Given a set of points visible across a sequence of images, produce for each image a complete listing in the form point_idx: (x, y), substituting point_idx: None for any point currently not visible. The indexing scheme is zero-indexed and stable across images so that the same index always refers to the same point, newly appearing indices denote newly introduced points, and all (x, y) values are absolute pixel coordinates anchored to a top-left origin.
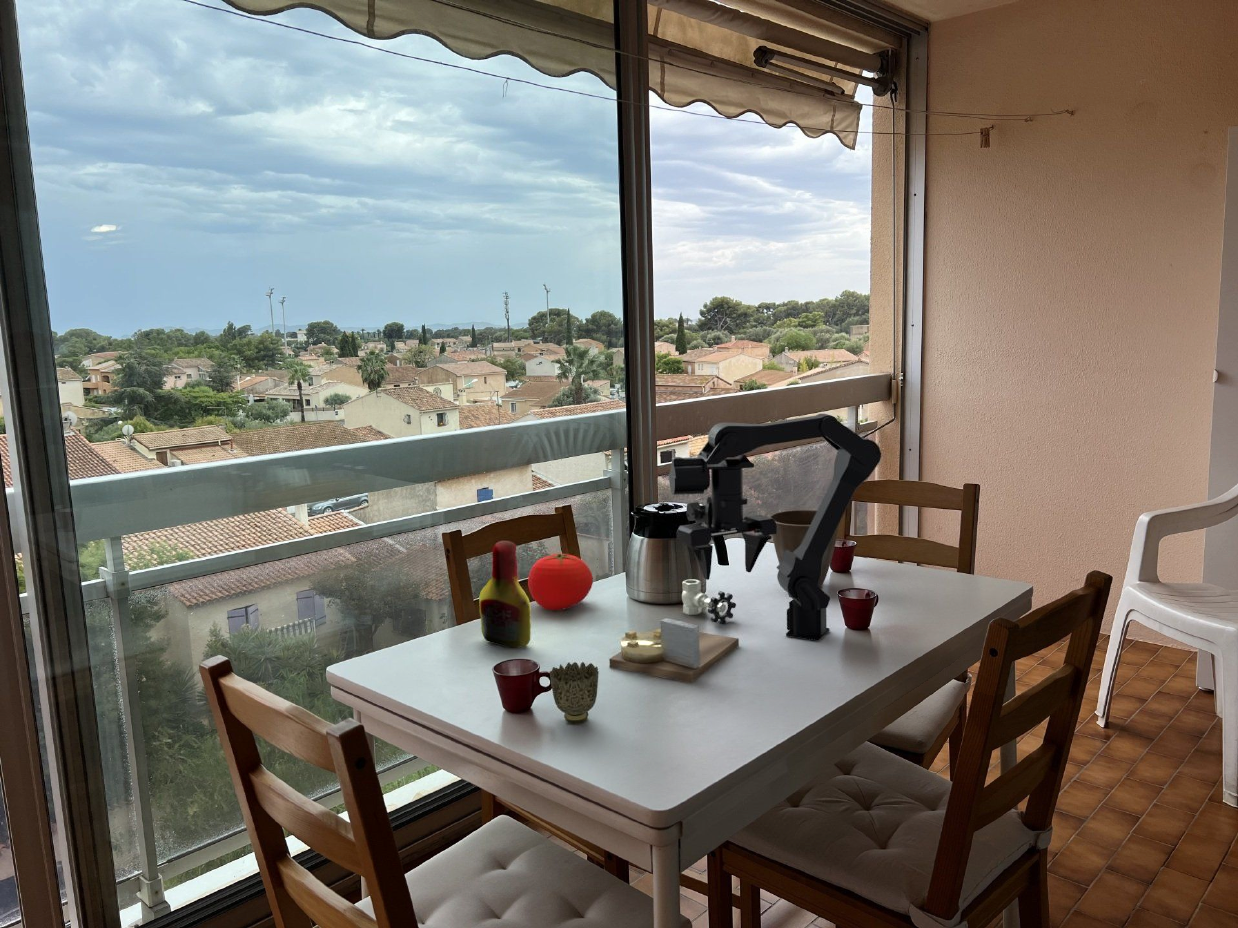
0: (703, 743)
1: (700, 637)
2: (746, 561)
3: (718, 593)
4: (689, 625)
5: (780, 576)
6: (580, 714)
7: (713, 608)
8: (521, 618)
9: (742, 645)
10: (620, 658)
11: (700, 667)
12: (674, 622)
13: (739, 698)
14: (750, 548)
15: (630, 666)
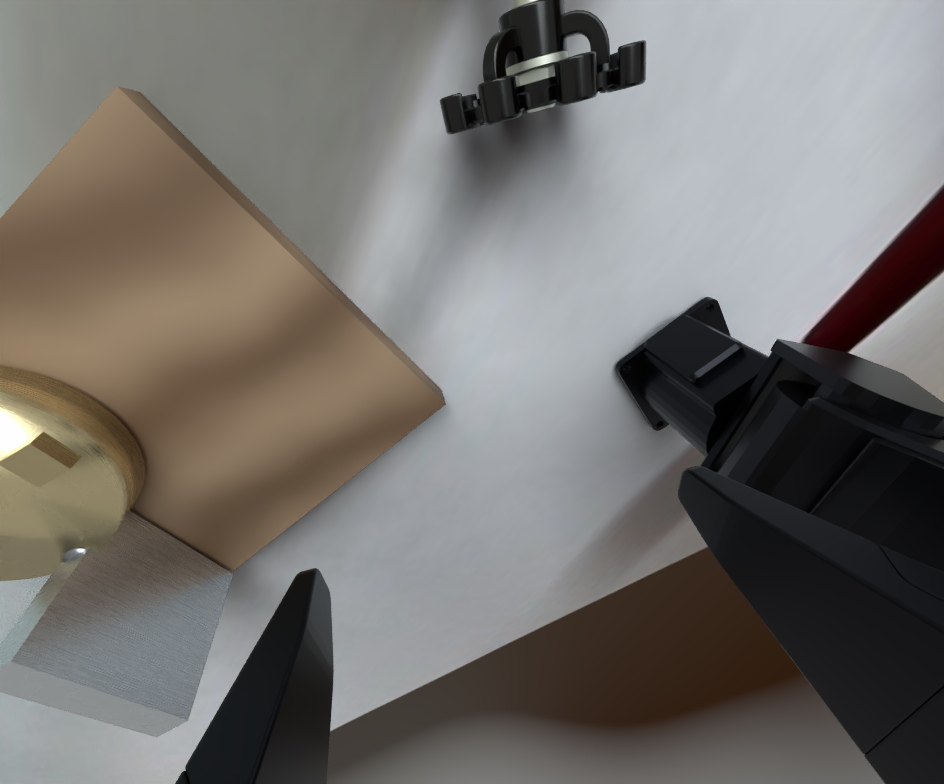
0: (182, 748)
1: (307, 350)
2: (744, 531)
3: (560, 66)
4: (144, 719)
5: (801, 461)
6: None
7: (475, 120)
8: None
9: (455, 385)
10: None
11: (237, 566)
12: (65, 699)
13: None
14: (876, 678)
15: None
